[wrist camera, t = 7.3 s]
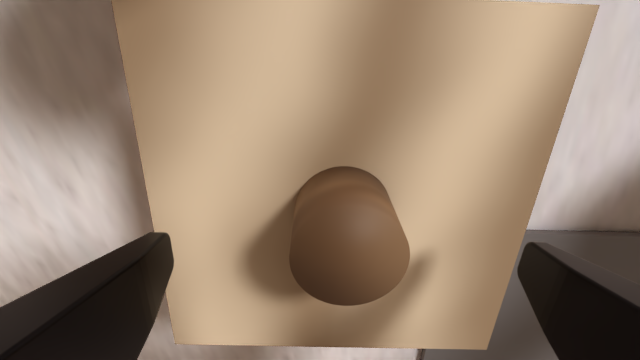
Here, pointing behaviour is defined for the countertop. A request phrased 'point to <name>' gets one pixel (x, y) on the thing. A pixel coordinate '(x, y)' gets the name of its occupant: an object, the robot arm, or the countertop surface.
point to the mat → (516, 312)
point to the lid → (345, 160)
